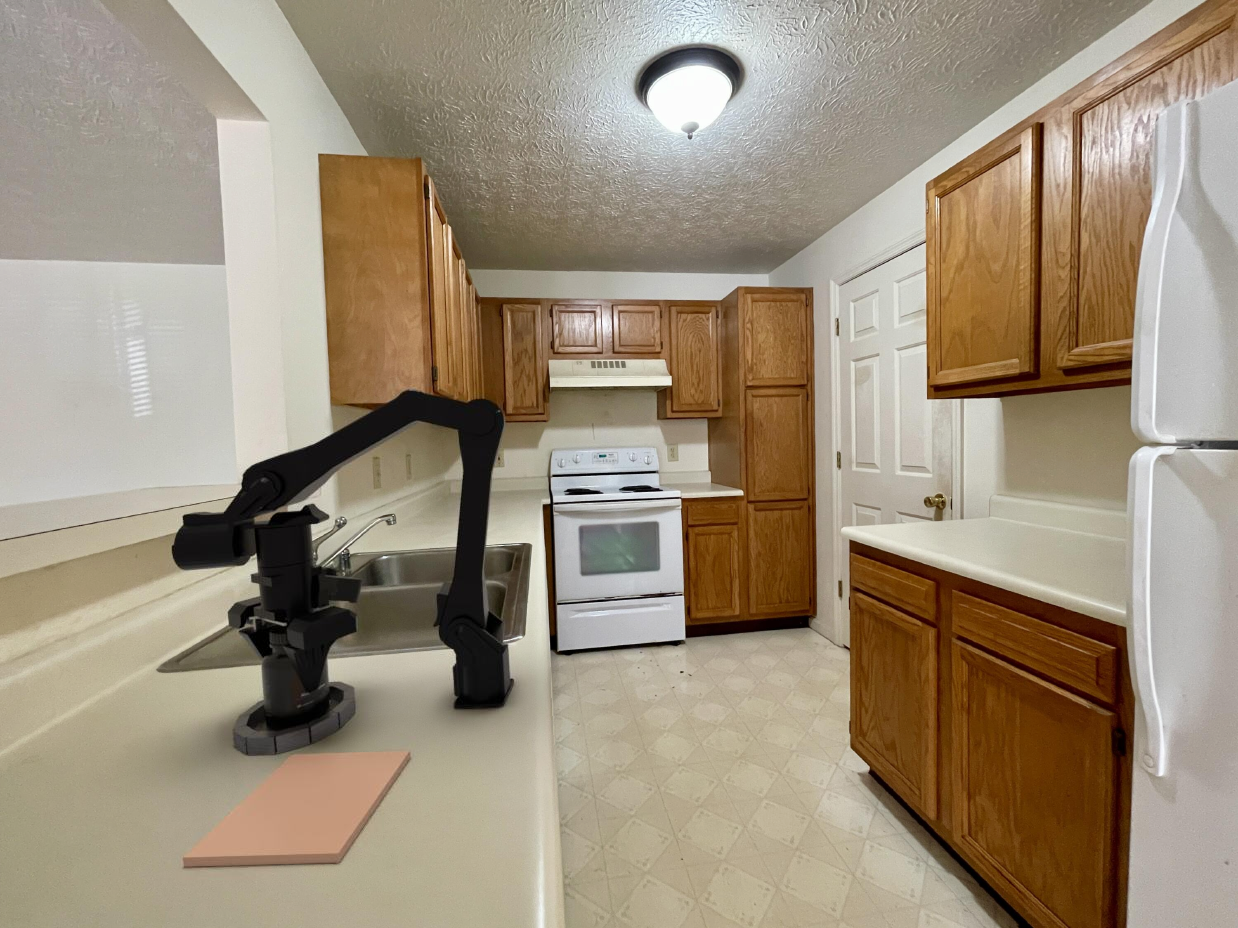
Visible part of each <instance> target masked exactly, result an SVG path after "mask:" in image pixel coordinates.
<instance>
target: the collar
mask: <svg viewBox="0 0 1238 928" xmlns="http://www.w3.org/2000/svg"><path fill="white" fill-rule="evenodd" d="M329 691H330V702H331V701H334V702H336V703H338V704H337V705H336V706H335V707H334V708H333V709H332V710H330V712H329V713H327V714H325V715H323V716H321V717H319V718H317V719H315V720H313V721H311V722H309V723H306V724H303V725H299V726H295V727H292V728H288V729H284V730H281V731H267V730H264V731H256V730H255V728H256V727H258V726H259V725H260V724H261V723H263V722H265V713H264V699H262V700H260V701H258V702H256V703H255V704H254V705H252V706H251V707H249V708H248V709H247V710H244V712H242V713H240V714H239V716H237V719H236V720H235V723H234V726H233V728H232V739H233V747H234V748H235V749H236V750H237V751H239V752H241V753H242V754H244V755H245V756H266V755H267V756H271V755H272V756H273V755H274V756H275V755H279V754H282V753H286V752H289V751H292V750H296V749H300V748H304V747H306V746H310V745H311V744H312V745H313V744H314V743H316V742H318V741H320V740H322V739H324V738H325V737H327V736H329V735H331V734H333V733H335V732H336V731H338V730H340V729H342V728H343V726H344V725H346V724H347V723H348V721H350V720H351V719H352V717H353V716H354V715H355V714H356V696H355V695H356V694H355V691H356V690H355V687H354V686H352V685H351V684H349V683H345V682H343V681H329Z"/></svg>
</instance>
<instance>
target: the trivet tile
mask: <svg viewBox="0 0 1238 928" xmlns="http://www.w3.org/2000/svg"><path fill="white" fill-rule="evenodd" d="M410 759H411V751H410V750H393V751H392V750H390V751H385V750H384V751H359V752H358V751H357V752H356V751H354V752H327V753H324V752H323V753H321V752H320V753H296V754H295V753H294V754H291V755H290V756H289V757H288V758H287V759H286V760H285V761H283V762H282V764H281V765H279V766H278V767H277V768H276V769H275V770H274V771H273V772H272V773H271V774H270V775H269V776H268V777H267V778H265V779H264V780H263V782H261V783H260V784H259V785H258V786H257V787H256V788H255V789H254V790H253V791H252V792H251V793H250V794H249V795H248V796H246V797H245V798H244V799H243V800H242V801H241V802H240V803H239V804H238V805H237V806H236V807H235V808H234V809H233V810H232V811H231V812H229V813H228V815H226V816H225V817H224V818H223V819H222V820H220V822H218V823H217V824H216V825H215V826H214V827H213V829H211V830H210V831H209V832H208V833H206V835H205V836H204V837H203V838H202V839H201V840H200V841H199V842H198V843H197V844H196V845H195V846H193V847H192V848H191V849H190V850H189V851H188V852H187V853H186V854H185V855H184V856H182V863H183V867H185V868H187V867H191V868H192V867H220V866H221V867H225V866H226V867H227V866H229V867H230V866H262V865H297V864H299V865H301V864H303V865H304V864H331V863H332V864H333V863H337V864H338V863H340V862H341V860H342V859H343V858H344V856H345V855H346V853H347V852H348V850H349V848H350V847H352V844H353V843H354V841H355V840H356V838H357V837H358V835H359V834H360V833H361V831H362V830H363V828H364V827H365V825H366V824H367V823H368V821H369V820H370V819H371V816H372V815H373V813H374V812H375V811H376V810H377V808H378V807H379V804H380V803H381V801H382V800H383V799H384V797H385V796H386V794H387V793H388V791H389V790H390V789H391V787H392V786H393V784H394V783H395V781H396V779H397V778H398V777H399V776H400V774H401V773H402V771H403V770H404V768H405V767H406V765H407V764H408V762H409V761H410Z"/></svg>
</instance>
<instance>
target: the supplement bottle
mask: <svg viewBox="0 0 1238 928" xmlns="http://www.w3.org/2000/svg"><path fill="white" fill-rule="evenodd" d="M288 627H289V626H288V625H286V626H282V625H280V626H277V627H275V628H273V629H272V630H271V631H270V642H269V646H270V648H272V650H271V651H270V652H268V653H267V654H266V655H265V657H264V658H263V660H261V667H260V668H261V679H262V680H261V681H262V695H263V697H262V698H263V699H262V700H264V713H265V720H264V724H265V729H266V731H281V730H284V729H288V728H292V727H295V726H299V725H303V724H306V723H309V722H311V721H313V720H315V719H317V718H319V717H321V716H323V715H325V714H327V713H329V712H331V701H330V691H329V682H330V678H329V662H328V657H327V658H326V661H325V665H324V669H323V672H322V676H321V679H320V683H319V687H318V689H317V690H316V691H314V692H312V693H307V692H306V690H305V688H304V687H303V685H302V683H301V681H300V679H299V677H298V675H297V673H296V671H295V669H294V667H293V665H292V663H291V661H290V660H289V658H288V656H287V654H286V652H285V650H284V648H283V646H284V645H287V644H290V642H289V640H288V637H287V628H288Z"/></svg>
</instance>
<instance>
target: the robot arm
mask: <svg viewBox="0 0 1238 928" xmlns="http://www.w3.org/2000/svg"><path fill="white" fill-rule="evenodd" d="M420 423H427V424H431V425H435V426H439V427H443V428H448V429H452V430H455V431H457V435H458V444H459V446H458V447H459V453H460V458H461V463H462V479H461V480H462V481H461V491H460V503H459V512H458V513H459V514H458V523H457V537H456V547H455V558H454V571H453V577H452V581H451V582H449V581H445V580H444V581H443V582H442V584H441V585H440V588H439V590H438V592H437V594H436V610H437V612H436V613H437V614H436V618H435V621H434V623H433V625H432V626H433V628H436V627H438V631H437V632H438V637H439V639H440V641H441V642H442V643H443V644H444V645H445V646H446V647H447V648H448V649H452V650H453V652H454V654H455V663H454V665H453V666H452V677H453V678H452V679H453V683H452V684H453V695H454V696H455V697H456V698H455V700H454V702H453V708H454V709H463V708H465V709H469V708H471V709H472V708H473V709H474V708H491V707H492V708H498V707H499V708H500V707H502V706H504V705H505V703H506V701H507V699H508V696H509V694H510V692H511V690H512V688H513V685H514V684H515V679H514V678H511V671H510V670H511V667H510V650H509V644H508V643H504V639H505V638H504V637H505V627H506V625H505V624H506V622H505V621H504V620H503V619H501V618H500V617H499V616H498V615H496V613H494V612H493V611H492V610H490V609H489V608H490V607H489V598H488V589H487V588H488V587H487V581H486V576H485V559H486V552H487V551H486V550H487V540H488V529H489V528H488V527H489V517H490V508H491V507H490V506H491V497H492V495H491V494H492V482H493V473H494V469H495V465H496V461H497V459H498V455H499V451H500V448H501V444H502V442H503V438H504V435H505V430H506V425H507V424H506V417H505V415H504V413H503V410H502V409H501V408H500V407H499V405H498V404H497V403H495V402H494V401H492V400H490V399H486V398H474V399H472V400H468V401H467V402H465V401H462V400H457V399H454V398H449V397H444V396H439V395H434V394H431V393H425V392H423V391H422V390H418V389H416V388H409V389H405V390H403V391H402V392H400V393H399V394H398V395H397V396H396V397H395V398H393V399H392V400H389V401H388V402H385V404H383V405H381V406H379V407H377V408H375V409H374V410H372V411H370V412H369V413H367V414H365V415H363V416H361V417H359V418H358V419H356V420H353V421H352V422H351V423H348V424H347V425H345V426H343V427H341V428H339V429H338V430H336V431H335V432H333V433H331V434H329V435H327V436H326V437H324V438H322V439H321V440H318V441H316V442H315V443H313V444H310V445H307V446H304V447H301V448H298V449H295V450H291V451H288V452H284V453H281V454H278V455H275V456H273V457H269V458H266V459H264V460H261V461H258V462H255V463H254V464H252V465H250V466H248V468H246V469H245V470H244V472H243V473H242V475H241V476H242V479H241V483H240V484H241V489H239V491H238V492H237V494H236V495H235V497H234V498H233V499H232V501H231V502H230V503H229V505H228V506H227V508H226V509H225V510H224V511H218V512H210V511H209V512H208V511H194V512H191V513H185V514H183V515H182V525H181V526H180V528H179V529H178V530H177V532H176V535H175V537H174V542H173V544H172V545H171V554H172V559H173V562H174V564H175V565H176V566H177V567H178V569H180V570H183V571H186V572H187V571H197V570H198V571H199V570H210V569H218V568H220V569H221V568H233V567H243V566H244V565H246V564H247V563H249V560H250V559H251V558H252V557H254V556H256V562H257V563H256V567H257V572H254V573H250V583H252V584H253V583H254V584H256V585H258V586H259V587H258V590H259V595H258V596H255V597H251V598H247V599H244V600H240V601H237V602H235V603H234V604H233V605H232V606H231V607H230V609H228V611H227V619H228V620H227V621H228V627H231V628H235V629H237V630H239V631H238V634H239V636H241V637H242V638H243V639H244V640H245V641H246V643H247V644H248V645H249V647H251V649H252V650H253V651H254V653H255V654H256V655H257V657H258V658H259V659H260V661H262V660H263V658H264V657H265V655H266V654H267V653H268V652H270V651H271V650H272V648H270V646H269V642H270V631H271V630H272V629H273V628H275V627H277V626H280V625H282V626H286V625H288V626H289V627H288V628H287V637H288V640H289V642H290V644H287V645H284V646H283V648H284V650H285V652H286V654H287V656H288V658H289V660H290V661H291V663H292V665H293V667H294V669H295V671H296V673H297V675H298V677H299V679H300V681H301V683H302V685H303V687H304V688H305V690H306V692H307V693H312V692H314V691H316V690H317V689H318V687H319V683H320V679H321V676H322V672H323V669H324V665H325V661H326V658H327V659H328V655H329V652H330V649H331V648H332V646H333V645H334V644H335V642H337V640H339V639H342V638H345V637H346V636H349V635H352V634H354V633H356V632H358V630H359V621H358V619H359V618H358V614H357V613H356V612H354V611H352V610H351V609H349V608H343V607H341V606H335V605H331V606H330V601H333V602H349V603H350V604H357V603H359V599H360V594H361V590H362V586H363V583H364V579H362V578H358V577H357V578H356V577H350V576H342V575H338V574H337V570H336V568H333V567H328V566H327V567H326V566H322V565H319V564H315V561H314V560H315V559H314V556H315V555H314V545H313V536H312V535H313V533H312V525H318V524H320V523H323V522H325V521H328V520H330V518H331V517H330V514H328V513H326V512H325V511H323V510H321V509H320V508H319V507H318V506H316V504H315V503H309V504H305V505H304V506H303V507H302V508H301V509H300V510H290V511H278V510H279V509H282V508H285V507H288V506H291V505H292V506H293V505H295V504H299V503H302V502H304V501H305V500H307V499H309V498H310V497H311V496H312V495H313V494H314V493H316V492H317V491H318V490H320V488H321V487H323V486H324V485H325V484H326V483H327V482H328V481H330V479H331V477H333V476H334V475H335V474H336V473H337V472H338V471H339V470H341V469H342V468H343V467H345V466H346V465H348V464H350V463H352V462H354V461H355V460H357V459H358V458H360V457H362V456H364V455H366V454H367V453H369V452H371V451H372V450H374V449H376V448H378V447H379V446H381V445H382V444H384V443H386V442H388V441H390V440H391V439H393V438H395V437H397V436H399V435H400V434H402V433H404V432H405V431H407V430H408V429H411V428H413V427H414V426H415V425H418V424H420ZM276 511H277V512H276ZM271 513H274V514H272V515H271V517H270V519H269V520H268V519H267V520H256V521H255V518H257V517H260V516H264V515H267V514H271ZM315 609H319V610H316V611H315Z"/></svg>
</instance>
